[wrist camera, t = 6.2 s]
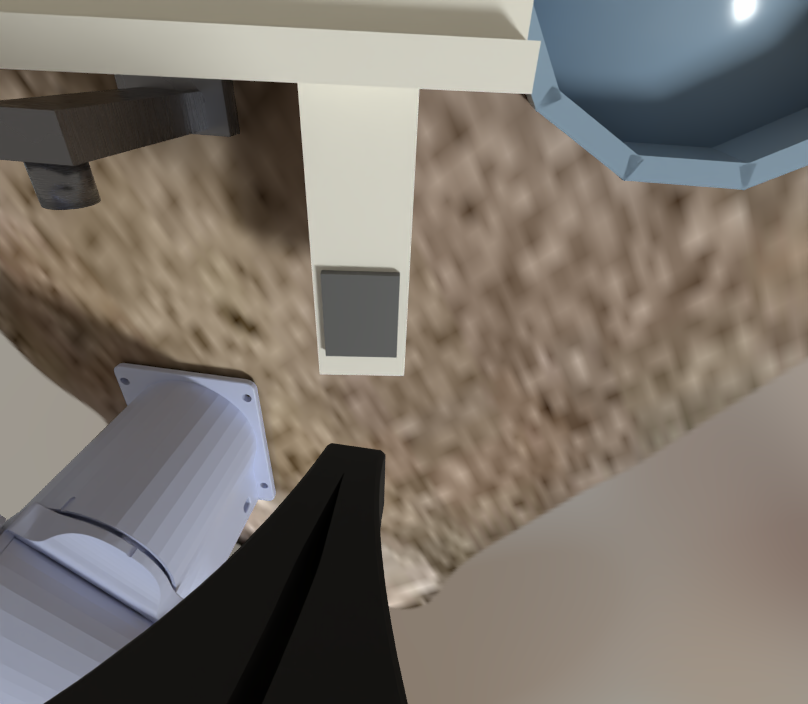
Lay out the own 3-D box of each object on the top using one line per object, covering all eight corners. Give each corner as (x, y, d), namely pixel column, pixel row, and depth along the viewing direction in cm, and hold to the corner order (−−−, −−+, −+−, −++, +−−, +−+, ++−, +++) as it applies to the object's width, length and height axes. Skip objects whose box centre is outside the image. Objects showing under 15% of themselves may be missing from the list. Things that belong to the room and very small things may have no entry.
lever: (469, 361, 17) (481, 410, 15) (-199, 346, 16) (-299, 397, 14) (593, -460, 8) (682, -686, 5) (-1017, -624, 7) (-1789, -994, 4)
